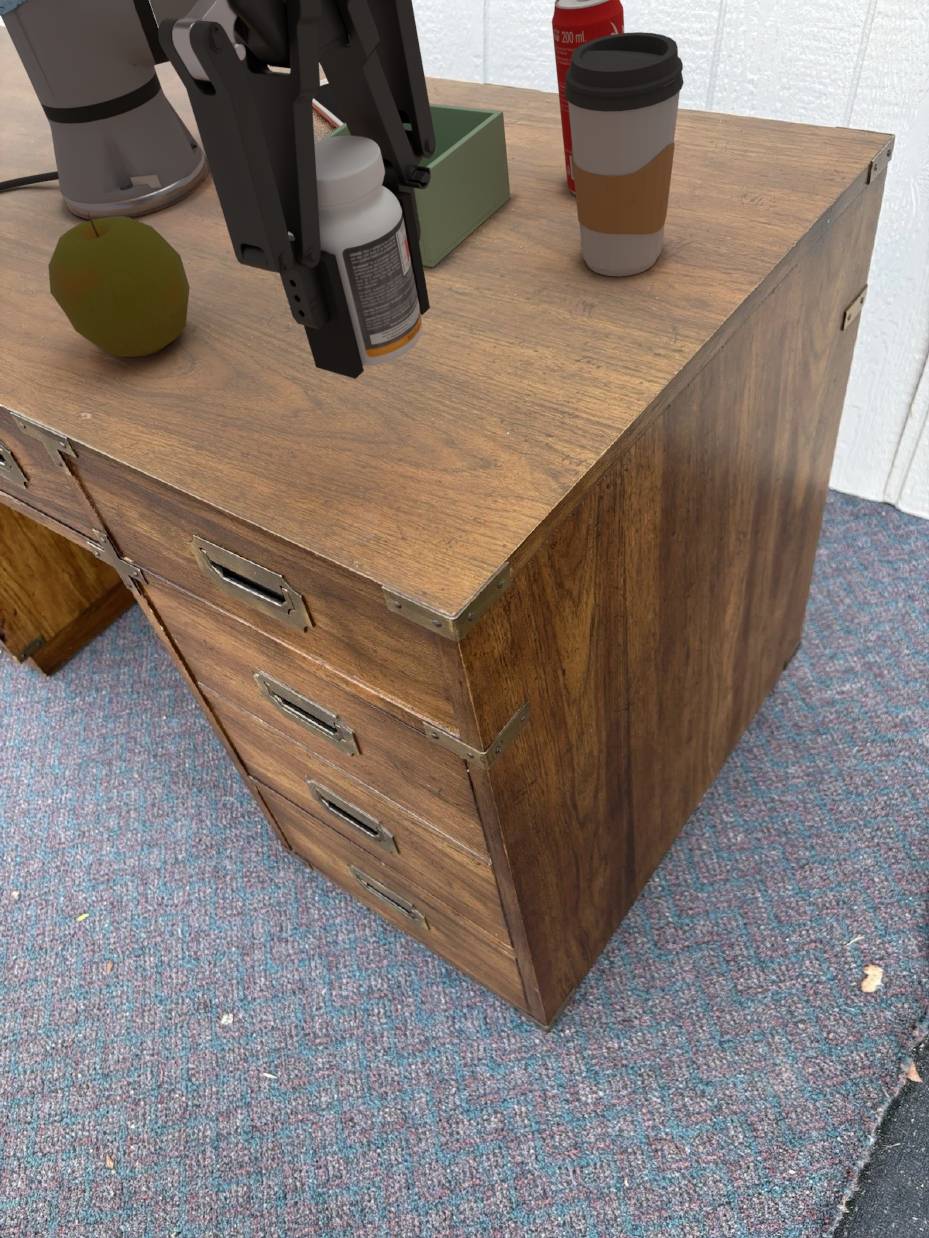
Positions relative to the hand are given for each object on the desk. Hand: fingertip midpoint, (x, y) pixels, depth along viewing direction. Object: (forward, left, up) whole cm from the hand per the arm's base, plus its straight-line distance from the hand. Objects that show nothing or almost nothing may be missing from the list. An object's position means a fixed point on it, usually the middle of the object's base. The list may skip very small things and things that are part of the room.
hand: (374, 336), depth 48 cm
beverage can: (-8, +42, -11) cm, 44 cm away
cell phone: (-43, +52, -11) cm, 68 cm away
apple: (-31, +6, -11) cm, 33 cm away
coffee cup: (0, +31, -11) cm, 33 cm away
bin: (-21, +31, -11) cm, 39 cm away
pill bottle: (0, 0, -1) cm, 1 cm away
